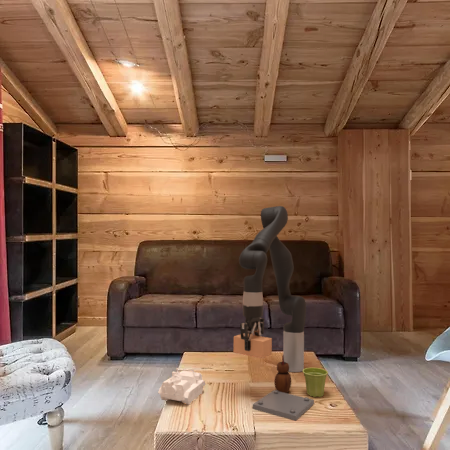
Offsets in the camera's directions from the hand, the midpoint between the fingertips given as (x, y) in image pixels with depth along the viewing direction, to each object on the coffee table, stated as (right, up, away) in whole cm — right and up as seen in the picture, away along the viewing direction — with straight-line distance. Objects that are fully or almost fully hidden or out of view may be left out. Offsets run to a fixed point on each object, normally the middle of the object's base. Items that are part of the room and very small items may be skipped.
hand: (252, 348), depth 149 cm
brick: (0, -2, 0) cm, 2 cm away
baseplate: (+10, -17, -9) cm, 22 cm away
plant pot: (+24, -18, +2) cm, 30 cm away
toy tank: (-27, -18, -3) cm, 32 cm away
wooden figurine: (+12, -18, +4) cm, 22 cm away
